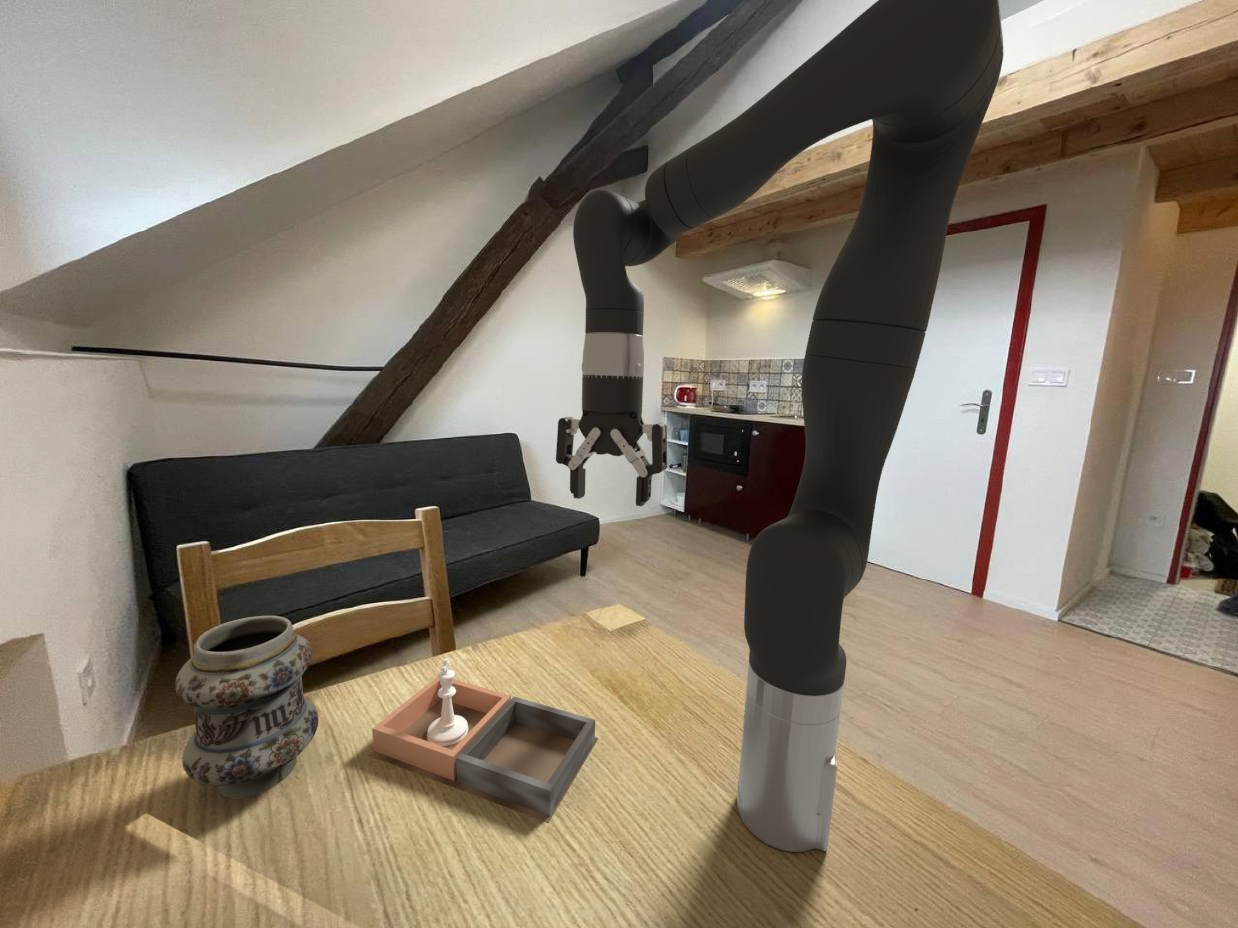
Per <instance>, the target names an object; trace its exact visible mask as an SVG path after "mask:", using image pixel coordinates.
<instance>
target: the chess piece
mask: <svg viewBox="0 0 1238 928" xmlns="http://www.w3.org/2000/svg"><path fill="white" fill-rule="evenodd" d="M451 661H452V660H450V659H449V658H444V659H443V660H442V662H443V665H442V666H441V668H440V670H441V671H440V672H438V675H437V676H438V680H439V682H440V684H441V687H442V688H441V689H440V690H439V691H438V696H439V697H440V698H443V701H442V711H441V717H440V718H438V719H436V720H435V721H434V722H432V723H431V725H430V726H429V728H428V731H427V739H428V741H429V742H431V743H434V744H437V745H439V746H450V745H453V744H455V743H458V742H459V741H461V740H462V739H463V738H464V737H465V736H466V735H467V733H468V723H467V721H466V719H465V718H463V717H461V716H459V715H454V712H453V706H452V699H451V697H452V696H453V695H454V694H455V693H456V690H455V688H454V687H453V686H452V682H453V679H455V676H456V673H455V671H454V670H452V669H450V665H452V663H451Z"/></svg>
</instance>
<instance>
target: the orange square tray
mask: <svg viewBox="0 0 1238 928" xmlns="http://www.w3.org/2000/svg"><path fill="white" fill-rule="evenodd" d="M452 686H453V687H454V688H455V690H456V693H455V694H454V695H453V696H452V697H451V699H452V703H455V704H458V705H461V706H465V707H468V708H471V709H474V710H478V711H481V712H484V713H487V714H486V715H485V716H484V717H483V718H482V719H481V721H480V722H479V723H478V724H477V725H476V726H475V727H474V728H473V729H472V730H471V731H470V732H469V733H468V734H467V735H466V736H465V737H464V738H463V739H462V740H461V741H460V742H459V743H458V744H457V745H456V746H455V747H454V748H453V749H452V750H451V749H448V748H445V747H442V746H439V745H437V744H434V743H431V742H428V741H425V740H422V739H419V738H416V737H414V736H411V735H408V734H405V733H402V732H403V731H405V730H406V729H407V728H408V727H409V726H410V725H412V724H413V723H414V722H415V721H416V720H417V719H418V718H420V717H421V716H422V715H423V714H424V713H425V712H427V711H428V710H429V709H430V708H431V707H432V706H434V705H435V704H436V703H437V702H438V701H439V700H440V699H442V700H443V698H440V697H439V696H438V691H439V690H440V689H441V688H442V687H441V684H440V682H439V680H438V675H437V676H436V677H435V678H434V679H432V680H431V681H430V682H429V683H428V684H426V685H425V686H423V687H422V688H421V689H419V690H418V691H417V692H416V693H415V694H413V695H412V696H411V697H410V698H408V699H407V700H406V701H405V702H404V703H402V704H401V705H400V706H398V707H397V709H395V710H394V711H392V712H391V713H390V714H388V715H387V716H386V717H384V718H383V719H382V720H381V721H380V722H378V723H377V724H376V725H375V726H374V727H372V728H371V731H372V733H371V734H372V744H373V745H372V747H373V749H374V751H375V752H378V753H381V754H383V755H386V756H389V757H392V758H394V759H397V760H400V761H402V762H405V763H408V764H410V765H413V766H416V767H418V768H421V769H424V770H426V771H429V772H432V773H435V774H437V775H440V776H443V777H445V778H448V779H451V780H453V781H454V780H455V779H456V778H457V766H456V758H457V757H458V756H459V755H460V753H461V752H462V751H463V750H464V749H465V748H466V747H467V746H468V745H469V744H470V743H471V742H472V741H473V740H474V738H475V737H476V736H477V735H478V734H479V733H480V732H481V731H482V730H483V729H484V728H485V727H486V726H487V725H488V724H489V722H490V721H491V720H492V719H493V718H494V717H495V716H496V715H497V714H498V713H499V712H500V711H501V710H502V709H503V708H504V706H505V705H506V704H507V703H508V702H509V701H510V700H511V699H512V695H511V694H507V693H503V692H499V691H497V690H493V689H489V688H485V687H483V686H480V685H479V686H478V685H475V684H472V683H468V682H465V681H461V680H459V679H456V678H454V679H453V682H452ZM373 749H372V750H373Z"/></svg>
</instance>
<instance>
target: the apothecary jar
mask: <svg viewBox="0 0 1238 928" xmlns="http://www.w3.org/2000/svg"><path fill="white" fill-rule="evenodd" d="M312 656H313V649H312V645H311V643H310V642H309V641H308V640H307V639H306V638H305V637H304V636H302V635H301V634H299V633H296V631H295V630H294V627H293V624H292V622H291V621H290V620H289V619H288V618H286V617H283V616H279V615H260V616H248V617H243V618H240V619H234V620H231V621H228V622H224V623H221V624H219V625H216V626H214V627H212V628H211V629H208V630H206V631H205V632H204V633H202V634H201V635H199V637H198V638H197V639H196V640H195V642H194V645H193V654H192V657H191V658H190V659H188V660H187V661H186V662H185V663H184V664H183V666H182V667H181V669H180V670H179V671H178V673H177V676H176V678H175V683H174V688H175V692H176V695H177V696H178V697H179V698H180V700H181V701H182V702H184V703H185V704H187V705H190V706H192V707H193V712H194V723H195V725H194V726H195V730H194V732H193V734H192V735H191V736H190V737H189V739H188V741H187V743H186V744H185V746H184V749H183V753H182V757H181V758H182V759H181V762H182V768H183V770H184V772H185V774H186V776H188V777H189V778H190V779H191V780H193V781H194V782H196V783H199V784H202V785H206V786H207V785H208V786H213V787H218V792H219V793H220V794H221V795H222V796H224V797H226V798H228V799H237V800H238V799H246V798H250V797H254V796H257V795H260V794H262V793H265V792H268V791H269V790H271V789H273V788H275V787H276V786H278V785H279V784H281V782H282V781H284V780H286V779H287V778H288V777H289V776H290V774H292V772H293V771H294V769H295V768H296V765H297V761H298V760H297V759H298V758H297V757H298V756H299V755H301V753H302V752H303V751H304V750H305V749H306V748H307V747H308V746H309V744H310V743H311V742H312V740H313V739H314V737H315V736H316V734H317V733H316V732H317V730H318V727H319V721H320V720H319V712H318V710H317V708H316V706H315V704H314V703H312V702H311V701H310V700H308V699H307V698H305V695H304V687H303V678H302V677H303V676H302V675H303V674H304V673H305V672H306V671H307V669H308V667H309V666H310V664H311V662H312V658H313V657H312Z"/></svg>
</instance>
